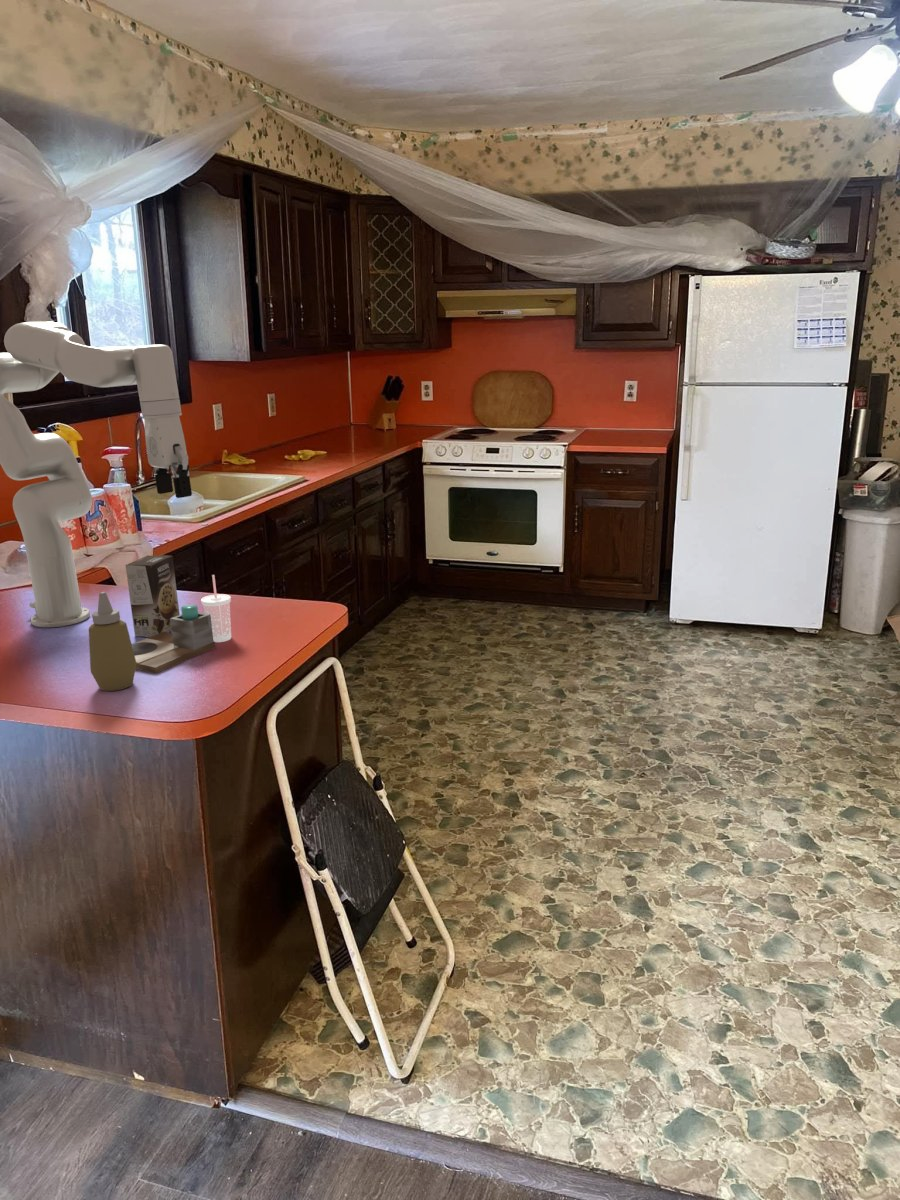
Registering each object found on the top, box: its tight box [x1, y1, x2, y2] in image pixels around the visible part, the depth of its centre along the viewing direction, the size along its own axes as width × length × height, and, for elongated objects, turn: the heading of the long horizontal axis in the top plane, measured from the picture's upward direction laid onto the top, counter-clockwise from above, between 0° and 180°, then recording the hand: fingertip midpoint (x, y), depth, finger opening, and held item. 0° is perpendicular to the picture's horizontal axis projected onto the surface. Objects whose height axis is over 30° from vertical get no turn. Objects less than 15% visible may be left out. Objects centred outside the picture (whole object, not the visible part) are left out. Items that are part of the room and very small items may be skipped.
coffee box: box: [125, 554, 181, 638], centre depth 194 cm, size 9×6×16 cm
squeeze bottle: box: [88, 591, 137, 692], centre depth 164 cm, size 8×8×18 cm
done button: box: [180, 604, 199, 620], centre depth 182 cm, size 3×3×3 cm
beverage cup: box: [200, 574, 232, 643], centre depth 188 cm, size 6×6×14 cm
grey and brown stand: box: [131, 611, 217, 674], centre depth 181 cm, size 15×16×7 cm
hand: (174, 494), depth 182 cm, fingers open, 9 cm apart
